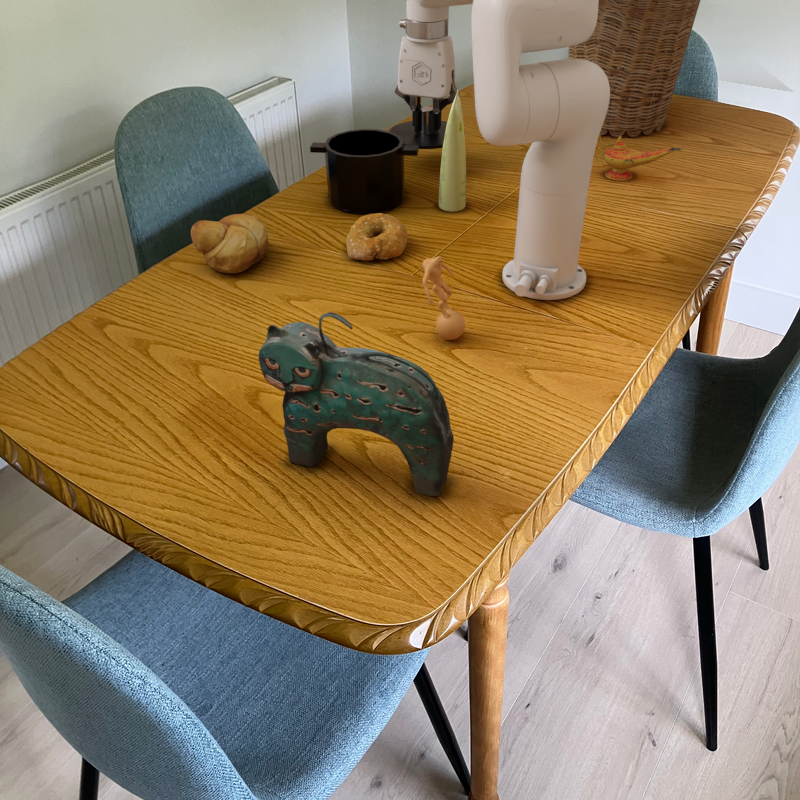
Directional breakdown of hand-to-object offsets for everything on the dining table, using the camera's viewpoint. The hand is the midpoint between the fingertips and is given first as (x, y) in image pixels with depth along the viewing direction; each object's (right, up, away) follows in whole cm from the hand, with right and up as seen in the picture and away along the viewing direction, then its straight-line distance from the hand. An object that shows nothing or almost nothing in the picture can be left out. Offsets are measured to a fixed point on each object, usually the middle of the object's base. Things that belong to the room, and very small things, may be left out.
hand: (426, 130), depth 149 cm
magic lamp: (+39, -9, -1) cm, 40 cm away
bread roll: (-31, -30, -25) cm, 50 cm away
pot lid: (0, -1, +1) cm, 1 cm away
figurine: (+1, -44, -43) cm, 61 cm away
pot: (-11, -15, -7) cm, 20 cm away
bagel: (-9, -28, -23) cm, 37 cm away
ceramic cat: (-9, -60, -64) cm, 88 cm away
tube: (+4, -18, -10) cm, 21 cm away
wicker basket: (+43, +10, +24) cm, 51 cm away
